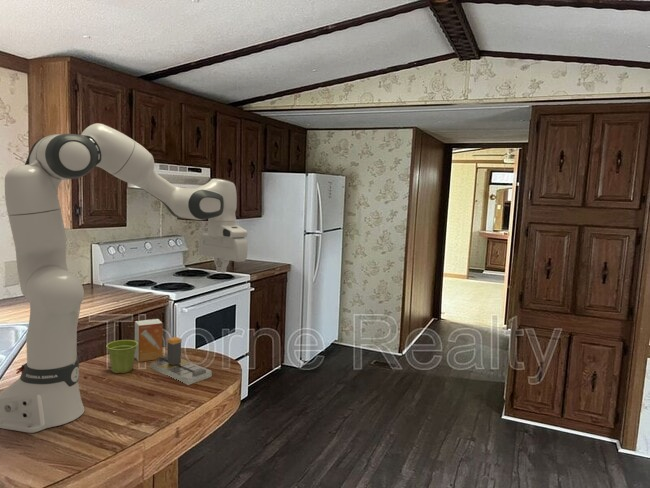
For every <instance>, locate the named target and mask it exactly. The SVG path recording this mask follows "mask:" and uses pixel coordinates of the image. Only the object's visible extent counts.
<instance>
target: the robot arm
mask: <svg viewBox="0 0 650 488" xmlns="http://www.w3.org/2000/svg"><path fill="white" fill-rule="evenodd" d="M95 167H97V168H101V169H102V170H104V171H106V173H109V174H110V175H112V176H113V177H115V178H117V179H119V180H121V181H123V182H125V183H128V184H130V185H133V186H135V187H138V188H139V189H141V190H143V191H145V192H146V193H148V194H149V195H150V196H152V197H154V198H155V199H157V200H158V201H160V202H161V203H162V204H163V205H164V207H165V208H166V209H167V210H168V211H169V213H170V214H171V215H172V216H173V217H175V218H177V219H180V220H181V219H183V220H184V219H185V220H186V219H187V220H188V219H189V220H195V221H196V220H197V221H203V220H208V221H207V222H208V223H207V225H208V226H207V227H203V229H201V230H200V234H199V235H200V236H199V238H198V249H197V252H198V254H199V256H202V257H203V256H204V257H207V258H213V262H214V265H215V267H216V270H215V271H216V272H217V273H222V274H226V273H227V269H228V268H227V267H228V266H229V263H230V261H231V262H235V263H236V262H237V263H239V262H241V263H242V262H245V261H246V260H247V258H248V240H247V237H248V231H247V230H246V229H245V228H243V227H242V226H240V225H238V224H237V217H236V211H237V207H238V206H237V205H238V204H237V203H238V202H237V201H238V197H237V195H238V194H237V188H236V185H235V183H234V182H233V181H231V180H228V179H225V178H218V177H216V178H212V179H210V181H208V182H207V183H205V184H203V185H201V186H198V187H195V188H193V187H183V186H176V185H174V184H172V183H171V182H169V181H168V180H167V179H165V178H164V177H163V176H161V175H159V174H158V173H157V172H156V171H155V170H154V169H155V160H154V156H153V154H152V153H151V152H149V150H148V149H146V148H145V147H144V146H143V145H141V144H140V143H138V142H137V141H136V140H134V139H132V138H131V137H129V136H128V135H126V134H125V133H123V132H121V131H119V130H117V129H115V128H113V127H111V126H109V125H106V124H105V123H99V122H97V123H93V124H90V125H89V126H87V127H86V128H85V129H84V130H83V131H82V132H81V134H76V133H75V134H74V133H55V134H54V133H53V134H50V135H47V136H45V137H42V138H39V139H38V140H37V141H35V143H33V145H32V146H31V148H30V150H29V153H28V156H27V159H26V161H25V163H24V164H21V165H18V166H15V167H13V168H11V169H9V170H8V171H7V172H6V174H5V175H4V176H5V177H4V197H5V206H6V207H5V208H6V212H7V216H8V221H9V225H10V230H11V234H12V239H13V242H14V243H13V244H14V249H15V258H16V266H17V267H16V268H17V275H18V280H19V287H20V291H21V294H22V295H23V296H24V298H25V299H27V300H28V301H29V306H30V307H29V309H30V310H29V311H30V312H29V320H28V328H27V332H26V335H25V337H26V338H25V340H26V342H25V343H26V362H25V363H24V364H22V365H21V367H19V368H17V369H15V371H16V373H15V374H16V375H17V374H20V373H21V374H20V377H19V378H18V379H16V380H14V382H13V383H11V384H10V385H8V386H7V387H6V388H5V389H3V390H2V391H1V392H0V429H4V430H10V431H17V432H23V433H28V434H33V433H37V432H41V431H43V430H45V429H49V428H53V427H57V426H61V425H65V424H67V423H70V422H73V421H75V420H77V419H78V418H79V417H81V416H82V415H83V414H84V412H85V407H84V404H83V400H82V397H81V393H80V387H79V386H80V385H79V378H80V362H79V361H80V360H79V358H78V354H77V351H78V349H77V348H78V346H77V340H78V339H77V338H78V335H77V332H78V331H77V330H78V324H79V323H78V322H79V316H80V313H81V305H82V303H83V301H84V299H85V298H84V297H85V291H84V289H85V288H84V286H83V284H82V281H80V279H79V277H78V276H77V275H76V274H75V273H74V272H71V271H69V269H68V266H67V257H66V256H67V255H66V254H67V252H66V251H67V250H66V249H67V248H66V246H67V234H66V229H65V224H64V219H63V214H62V210H61V204H60V200H59V197H58V193H59V192H58V191H59V187H60V183H61V182H62V181H64V180H65V181H67V180H74V179H75V180H76V179H80V178H82V177H84V176H86V175H87V174H89V173H90V172H91V171H92V170H93V169H95Z"/></svg>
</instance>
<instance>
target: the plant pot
mask: <svg viewBox="0 0 650 488" xmlns="http://www.w3.org/2000/svg"><path fill="white" fill-rule="evenodd" d="M137 345H138V343H137V342H136V341H135V340H132V339H120V340H114V341H110V342H109V343H107V344H106V349H107V351H108V354H109V360H110V366H111V372H112V373H115V374H119V373H121V374H125V373H129V372H131V371H132V370H133V366H134V359H135V350H136V346H137Z"/></svg>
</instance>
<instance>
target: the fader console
mask: <svg viewBox="0 0 650 488" xmlns="http://www.w3.org/2000/svg"><path fill="white" fill-rule="evenodd" d="M150 370H153V371H155V372H157V373H160V374H162V375H165V376H167V375H168V376H167V377H169V376H170V377H169V378H171V377H172V379H173V378H174V380H176V379H177V380H176V381H178V380H179V381H178V382H180V381H181V382H180V383H182V382H183V384H184V385H187V386H189V385H192V384H195V383H197V382H201V381H203V380H207V379H209V378H211V377H212V375H213V373H212V372H213V371H212V370H211V369H208V368H206V367H203V366H202V365H201V366H200V365H198V364H195V363H193V362H191V361H187V360H186V359H183V358H181V363H179V364H176V365H171V364H168V354H164V355H162V356H161V357H157V359H156V360H153V361H151V362H150Z"/></svg>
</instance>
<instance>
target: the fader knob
mask: <svg viewBox="0 0 650 488" xmlns="http://www.w3.org/2000/svg"><path fill="white" fill-rule="evenodd" d="M166 341H167V342H166V344H167V355H168V364H171V365H176V364H179V363H181V359H182V338H180V337H177V336H173V337H170V338H166Z"/></svg>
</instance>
